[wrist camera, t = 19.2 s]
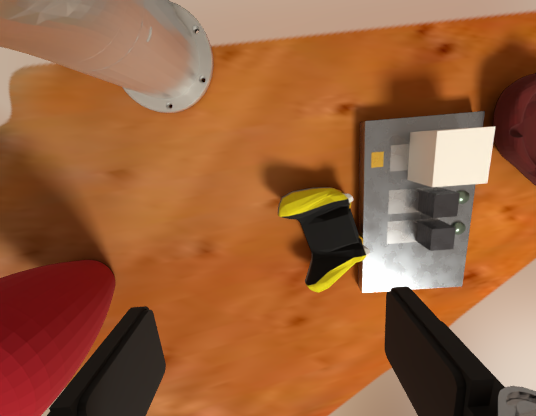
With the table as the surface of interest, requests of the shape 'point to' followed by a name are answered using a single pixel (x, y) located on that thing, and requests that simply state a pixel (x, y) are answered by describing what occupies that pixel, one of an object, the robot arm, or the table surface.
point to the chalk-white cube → (450, 156)
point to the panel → (410, 210)
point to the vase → (48, 330)
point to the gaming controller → (325, 232)
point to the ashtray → (518, 125)
